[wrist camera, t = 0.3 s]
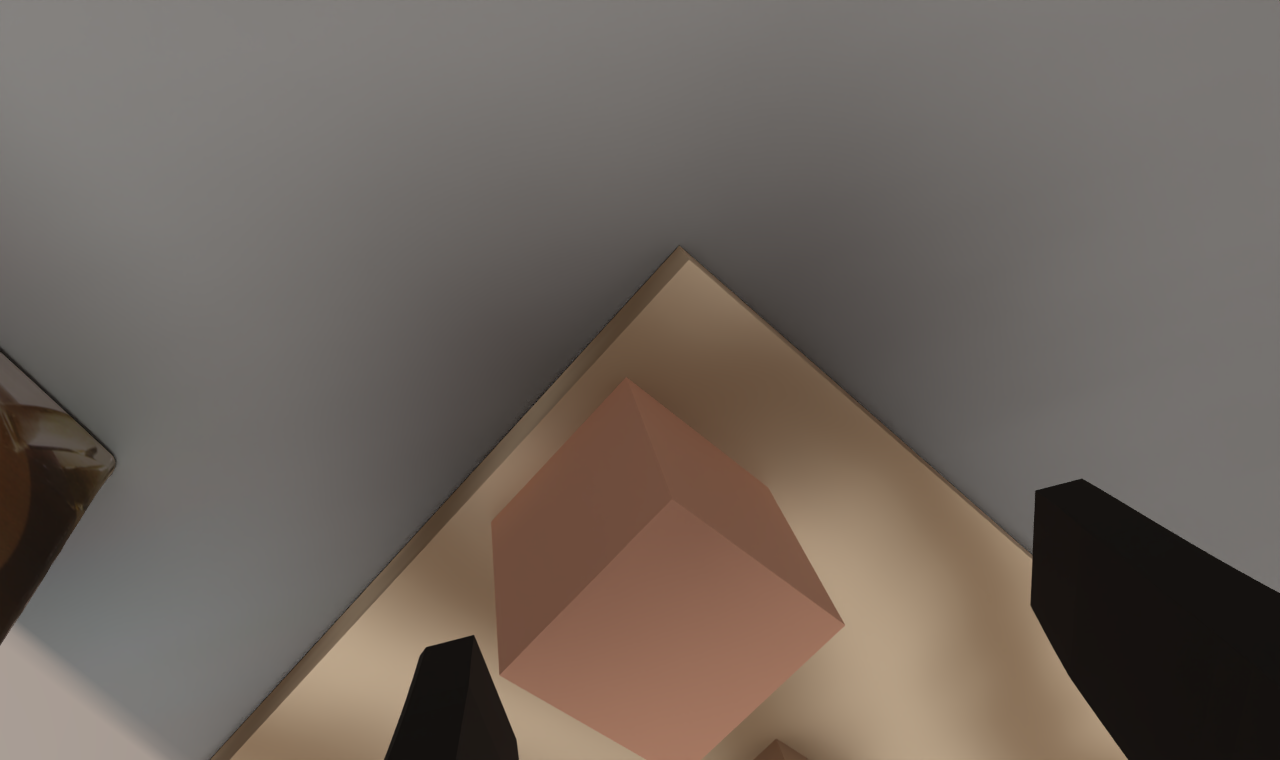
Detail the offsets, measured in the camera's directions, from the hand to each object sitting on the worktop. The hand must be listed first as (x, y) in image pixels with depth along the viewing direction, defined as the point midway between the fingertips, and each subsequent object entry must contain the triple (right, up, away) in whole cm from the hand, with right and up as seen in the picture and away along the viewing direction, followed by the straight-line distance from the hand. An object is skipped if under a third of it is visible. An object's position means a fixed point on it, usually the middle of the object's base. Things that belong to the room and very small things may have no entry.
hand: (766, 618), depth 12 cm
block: (-2, 0, +10) cm, 10 cm away
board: (+1, -7, +15) cm, 16 cm away
